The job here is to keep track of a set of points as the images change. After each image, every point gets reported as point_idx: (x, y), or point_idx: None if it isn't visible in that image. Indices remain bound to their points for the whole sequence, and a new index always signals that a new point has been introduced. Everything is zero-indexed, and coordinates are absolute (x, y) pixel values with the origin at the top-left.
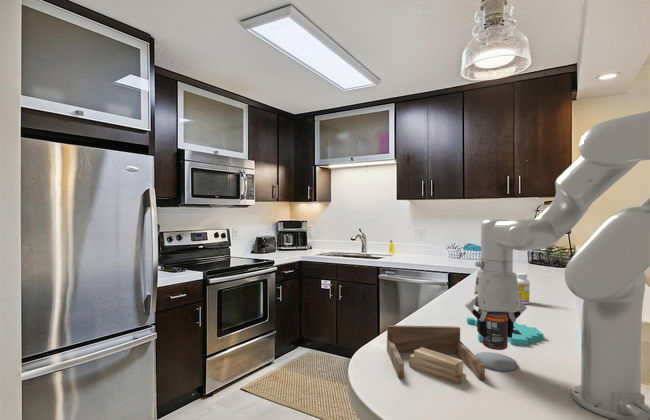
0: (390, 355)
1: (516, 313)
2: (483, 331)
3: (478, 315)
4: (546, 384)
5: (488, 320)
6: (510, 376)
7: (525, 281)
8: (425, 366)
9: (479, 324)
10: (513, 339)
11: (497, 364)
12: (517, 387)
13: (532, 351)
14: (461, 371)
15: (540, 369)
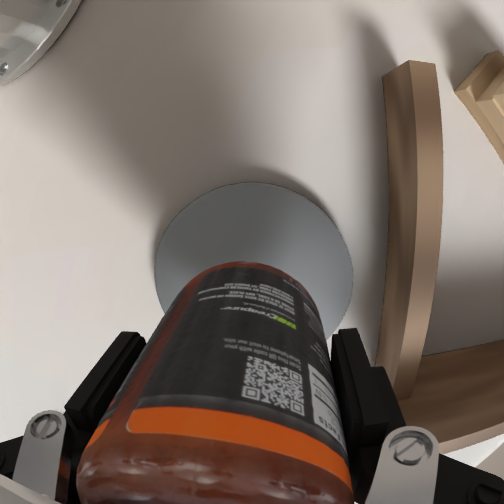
0: None
1: (2, 467)
2: (365, 356)
3: (442, 483)
4: (111, 78)
5: (333, 445)
6: (237, 126)
7: None
8: None
9: (398, 416)
10: None
11: (263, 227)
12: (252, 21)
13: (77, 382)
14: (487, 92)
15: (79, 229)
